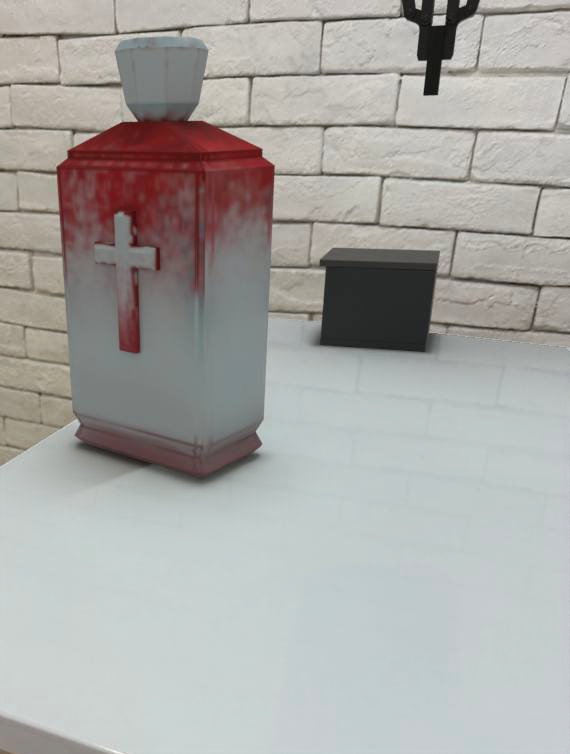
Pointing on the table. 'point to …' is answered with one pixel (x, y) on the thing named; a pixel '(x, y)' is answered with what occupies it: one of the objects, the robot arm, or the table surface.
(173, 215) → the bottle
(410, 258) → the lid
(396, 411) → the table surface
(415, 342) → the black storage bin
